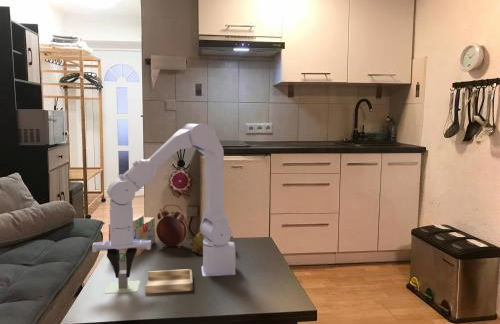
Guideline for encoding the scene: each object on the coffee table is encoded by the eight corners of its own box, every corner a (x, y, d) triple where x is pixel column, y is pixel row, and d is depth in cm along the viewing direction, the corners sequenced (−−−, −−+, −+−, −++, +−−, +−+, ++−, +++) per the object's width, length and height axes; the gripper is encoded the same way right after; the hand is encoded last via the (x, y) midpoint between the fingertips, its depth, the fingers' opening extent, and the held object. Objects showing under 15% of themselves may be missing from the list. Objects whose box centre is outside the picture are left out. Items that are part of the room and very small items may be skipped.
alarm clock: (189, 245, 143) (189, 204, 141) (184, 249, 138) (183, 207, 136) (161, 243, 145) (160, 202, 144) (155, 247, 141) (154, 205, 139)
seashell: (234, 258, 134) (238, 229, 133) (191, 257, 130) (194, 227, 130) (229, 249, 144) (232, 221, 144) (188, 247, 141) (191, 219, 140)
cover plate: (140, 283, 110) (139, 266, 110) (137, 294, 104) (137, 276, 103) (109, 284, 109) (109, 267, 109) (105, 296, 102) (104, 278, 102)
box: (191, 277, 114) (191, 269, 114) (192, 292, 104) (192, 283, 104) (148, 280, 112) (148, 271, 112) (145, 295, 102) (144, 286, 102)
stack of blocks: (139, 241, 148) (138, 208, 146) (155, 242, 147) (155, 209, 145) (109, 261, 127) (108, 223, 125) (127, 263, 126) (126, 224, 124)
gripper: (151, 221, 110) (152, 269, 111) (95, 222, 107) (97, 272, 109) (149, 228, 103) (150, 279, 104) (89, 230, 100) (91, 282, 102)
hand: (123, 276), depth 106 cm, fingers closed on cover plate
